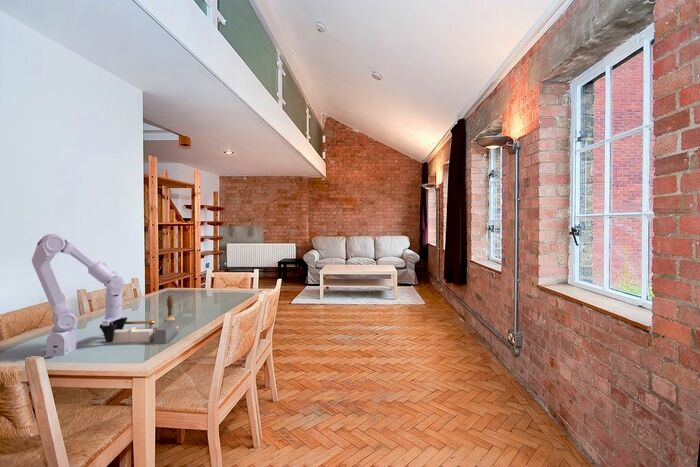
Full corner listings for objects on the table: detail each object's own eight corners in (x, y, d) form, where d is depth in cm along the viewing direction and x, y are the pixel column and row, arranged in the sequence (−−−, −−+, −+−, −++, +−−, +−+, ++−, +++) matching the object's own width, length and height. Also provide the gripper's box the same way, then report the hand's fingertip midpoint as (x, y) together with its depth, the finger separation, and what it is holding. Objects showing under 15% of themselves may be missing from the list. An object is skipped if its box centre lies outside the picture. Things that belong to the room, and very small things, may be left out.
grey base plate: (168, 345, 147) (168, 329, 147) (102, 347, 143) (102, 331, 143) (179, 333, 163) (179, 319, 162) (120, 335, 159) (120, 320, 158)
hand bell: (183, 329, 170) (184, 294, 169) (166, 334, 162) (167, 297, 162) (172, 326, 174) (172, 292, 173) (155, 330, 167) (155, 295, 166)
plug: (149, 342, 149) (149, 329, 149) (102, 343, 146) (102, 330, 146) (153, 338, 153) (153, 326, 153) (108, 339, 150) (108, 327, 150)
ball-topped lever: (114, 324, 156) (114, 322, 156) (117, 323, 158) (117, 320, 158) (153, 323, 158) (153, 321, 158) (155, 322, 161) (155, 319, 161)
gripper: (116, 309, 142) (116, 344, 142) (132, 301, 156) (132, 333, 156) (96, 309, 141) (96, 345, 141) (114, 301, 155) (113, 333, 155)
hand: (113, 338), depth 149 cm, fingers open, 7 cm apart
